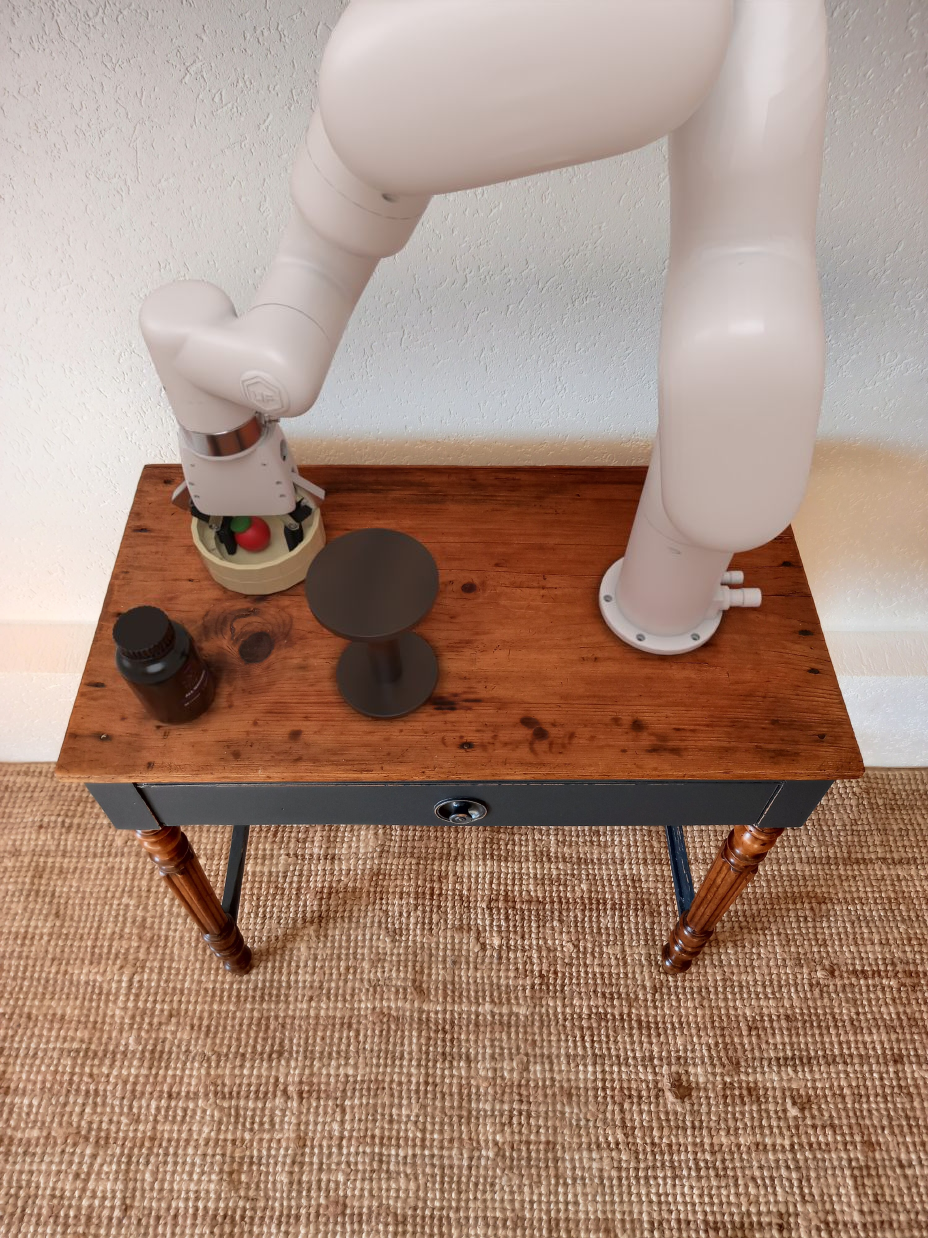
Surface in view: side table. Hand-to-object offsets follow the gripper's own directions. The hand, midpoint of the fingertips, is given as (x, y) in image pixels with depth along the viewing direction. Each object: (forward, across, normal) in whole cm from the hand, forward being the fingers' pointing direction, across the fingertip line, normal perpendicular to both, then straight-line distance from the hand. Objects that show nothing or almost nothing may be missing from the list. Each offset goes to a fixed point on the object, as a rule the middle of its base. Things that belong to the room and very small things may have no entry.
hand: (264, 543), depth 87 cm
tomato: (0, 0, 0) cm, 0 cm away
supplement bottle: (+1, +6, +18) cm, 19 cm away
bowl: (+1, 0, 0) cm, 1 cm away
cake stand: (+1, -14, +16) cm, 21 cm away
